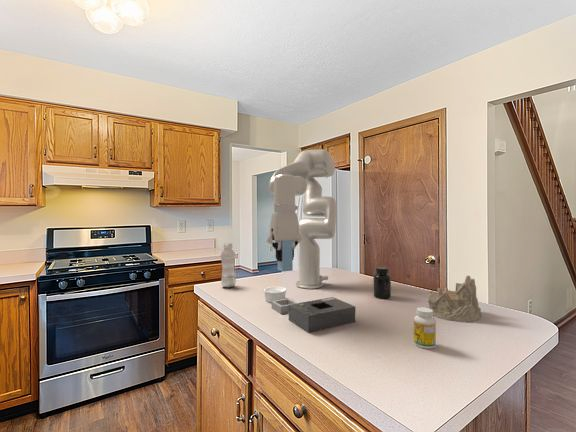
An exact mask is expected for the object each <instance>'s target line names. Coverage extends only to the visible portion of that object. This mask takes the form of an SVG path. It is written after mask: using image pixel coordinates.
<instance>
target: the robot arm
mask: <svg viewBox="0 0 576 432" xmlns="http://www.w3.org/2000/svg"><path fill="white" fill-rule="evenodd" d="M335 172H336V165H335V162H334V159H333V158H332V155H331V154H330V152H329V151H327V150H326V149H323V148H321V149H320V148H319V149H305V150H302V151H301V152H299V154H298V155H297V156H296V158H295V160H294V161H293V162H292V163H289V164H287V165H285V166H282V167H280V168H279V169H277V170H276V171H275V172H274V173H273V174H272V176H271V178H270V180H269V183H268V190H269V192H270V194H271V195H273V206H274V207H273V208H274V209H273V210H274V212H273V213H271V217H270V222H269V236H268V238H267V239H266V243H268V244H269V245H270V246H272V247H273V248H274V250H275V259H276V261H277V262H278V261H282V250H281V243H282V241H285V240H292V257H293V258H294V257H295V249H296V247H297V245H298V247H299V249H298V251H299V252H298V253H299V255H298V257H299V263H298V264H299V265H298V266H299V267H298V268H299V269H298V270H299V272H298V275H299V276H298V277H299V281H296V282H295V286H296V287H298V288H301V289H307V290H308V289H309V290H311V289H312V290H313V289H318V288H319V289H320V288H322V287H323V286H324V283H323V282H324V281H328V280H329V276H328V275H321V273H320V272H321V271H320V270H321V268H320V266H321V265H320V263H321V262H320V260H321V259H320V258H321V251H320V250H321V249H320V246H319V244H318V242H317V241H316V240H331V239H333V238H334V236H335V233H336V222H337V202H336V199H335V198H334V197H332V196H323V195H322V193H323V188H322V186H321V184H320V183H319V181H318V180H316V178H329V177H332V176H333V175H334V174H335ZM302 195H303V200H302V212H303V215H304V216H306V217H305V218H301V219H300V220H299V218H298V213H296V210H297V211H298V209H299V206H298V205H296V197H300V196H302ZM318 217H319V218H318ZM324 217H325V218H324Z"/></svg>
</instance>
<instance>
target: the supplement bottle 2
mask: <svg viewBox="0 0 576 432" xmlns="http://www.w3.org/2000/svg"><path fill="white" fill-rule="evenodd" d="M429 308H430V307H429ZM429 308H428V307H417V308H416V314H417V315H415V316H414V318H413V344H414V345H415V346H416V347H418V348H420V349H425V350H432V349H434V348H435V347H436V343H437V342H436V341H437V340H436V338H437V337H436V335H437V334H436V333H437V331H436V330H437V328H436V327H437V326H436V325H437V323H436V319H435V317H433V316H434V315H433V310H432V309H429Z"/></svg>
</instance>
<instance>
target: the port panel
mask: <svg viewBox="0 0 576 432" xmlns="http://www.w3.org/2000/svg"><path fill="white" fill-rule="evenodd" d="M288 321H289V322H291V323H293V324H294V325H295V326H297V327H298V328H300V329H302V330H303V331H304V332H306V333H313V332H317V331H323V330H326V329H331V328H335V327H339V326H343V325H347V324H353V323H355V322H356V306H355V305H352V304H350V303H348V302H346V301H344V300H340V299H338V298H337V297H333V296H331V297H326V298H321V299H320V298H319V299H314V300H308V301H303V302H296V304H291V305H289V312H288Z"/></svg>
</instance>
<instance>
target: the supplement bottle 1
mask: <svg viewBox="0 0 576 432" xmlns="http://www.w3.org/2000/svg"><path fill="white" fill-rule="evenodd" d="M391 279H392V277H391V275H390V274H389V268H388V267H385V266H378V267H375V274H374V275H373V297H374V298H376V299H379V300H380V299H381V300H387V299H388V300H389V299H391V297H392V280H391Z"/></svg>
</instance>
